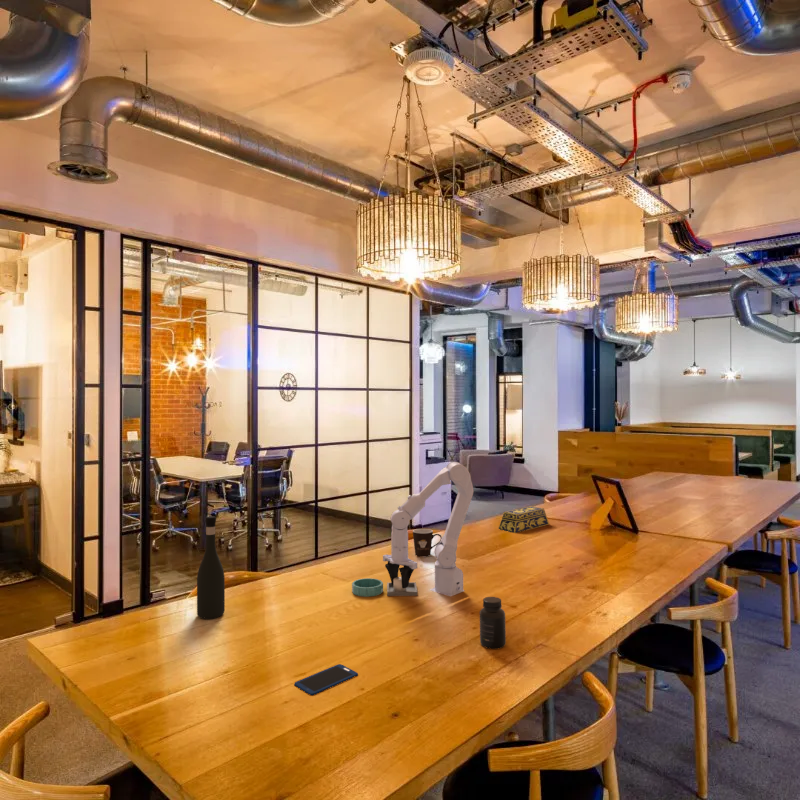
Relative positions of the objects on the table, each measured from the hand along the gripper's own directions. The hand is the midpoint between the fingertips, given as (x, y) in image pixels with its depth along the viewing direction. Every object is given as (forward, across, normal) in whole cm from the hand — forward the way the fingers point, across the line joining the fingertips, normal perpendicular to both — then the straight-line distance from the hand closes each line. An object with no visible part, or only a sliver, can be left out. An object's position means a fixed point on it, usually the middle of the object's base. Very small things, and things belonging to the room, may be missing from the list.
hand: (399, 585), depth 195 cm
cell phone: (+3, +30, -56) cm, 63 cm away
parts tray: (+2, 0, 0) cm, 2 cm away
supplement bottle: (+2, +46, -12) cm, 48 cm away
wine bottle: (+2, -28, -54) cm, 61 cm away
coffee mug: (+2, -24, +42) cm, 48 cm away
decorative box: (+3, -23, +116) cm, 119 cm away
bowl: (+2, -8, -8) cm, 11 cm away
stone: (+2, 0, 0) cm, 2 cm away
